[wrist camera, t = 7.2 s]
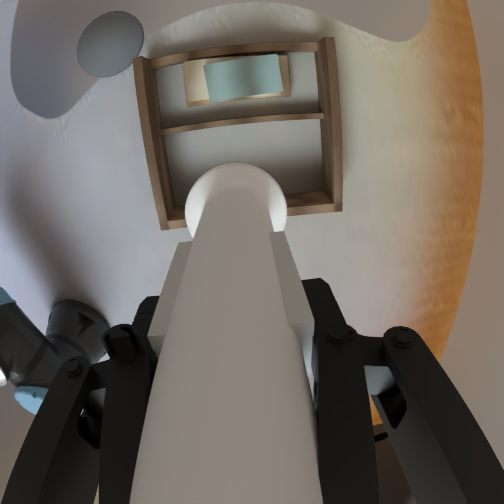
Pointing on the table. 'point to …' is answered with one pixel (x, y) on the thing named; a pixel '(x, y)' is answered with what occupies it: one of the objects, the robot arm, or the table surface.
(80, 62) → the pad
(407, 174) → the table surface
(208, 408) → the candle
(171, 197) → the rack
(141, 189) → the table surface
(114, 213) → the table surface
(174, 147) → the table surface
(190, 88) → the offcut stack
